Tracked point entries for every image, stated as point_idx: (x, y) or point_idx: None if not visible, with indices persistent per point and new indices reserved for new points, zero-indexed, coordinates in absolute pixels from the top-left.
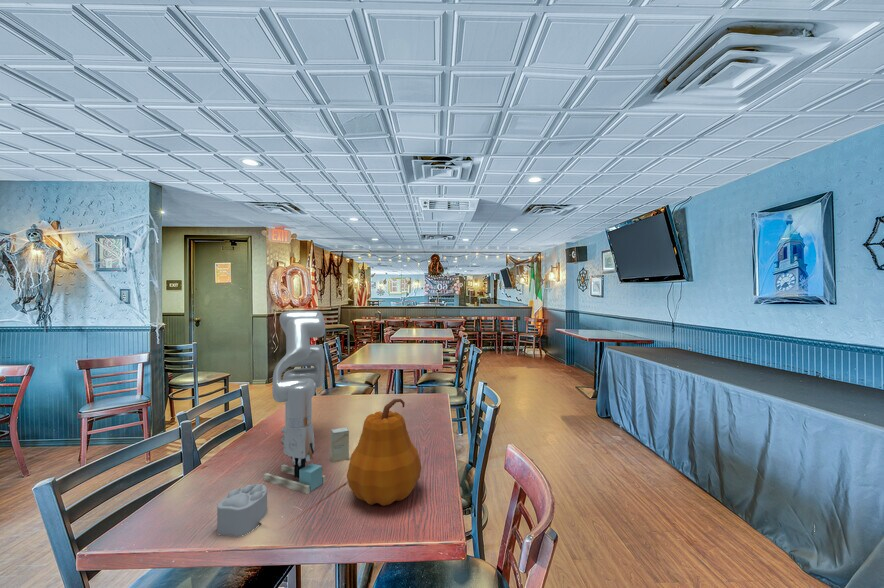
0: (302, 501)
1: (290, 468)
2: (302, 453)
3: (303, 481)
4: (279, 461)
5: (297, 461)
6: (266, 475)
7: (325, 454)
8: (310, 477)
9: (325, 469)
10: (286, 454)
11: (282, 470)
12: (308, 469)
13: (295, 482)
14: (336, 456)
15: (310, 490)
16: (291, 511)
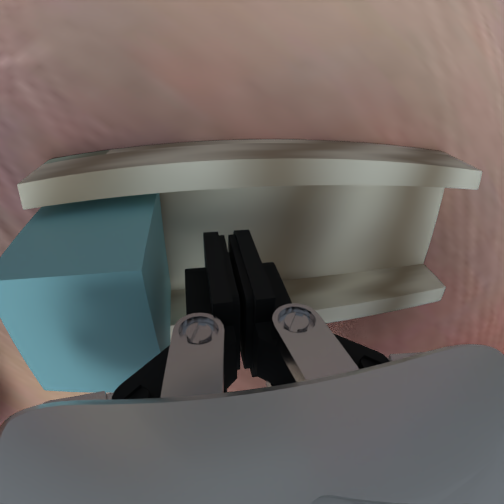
0: (40, 113)
1: (382, 297)
2: (3, 497)
3: (101, 217)
4: (467, 314)
5: (272, 354)
6: (465, 168)
7: None
8: (5, 253)
9: (236, 383)
10: (450, 355)
11: (423, 272)
12: (61, 317)
13: (169, 177)
14: None
15: None
16: (18, 13)
